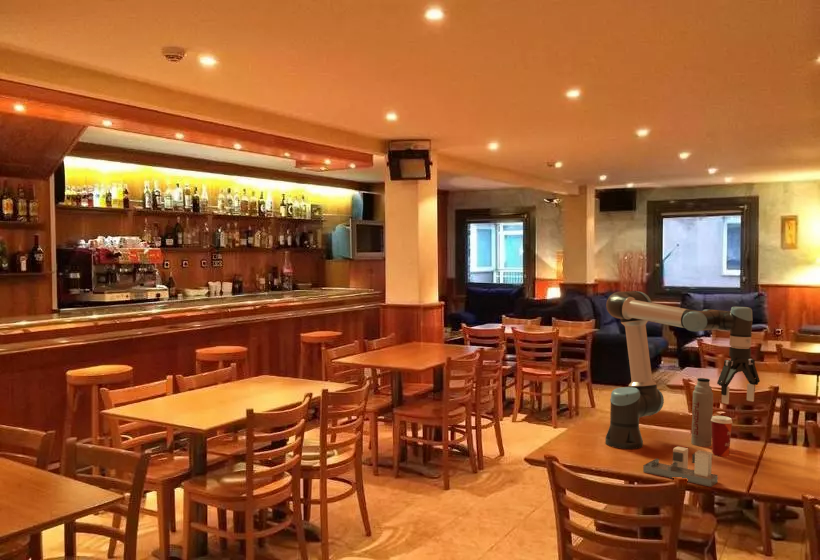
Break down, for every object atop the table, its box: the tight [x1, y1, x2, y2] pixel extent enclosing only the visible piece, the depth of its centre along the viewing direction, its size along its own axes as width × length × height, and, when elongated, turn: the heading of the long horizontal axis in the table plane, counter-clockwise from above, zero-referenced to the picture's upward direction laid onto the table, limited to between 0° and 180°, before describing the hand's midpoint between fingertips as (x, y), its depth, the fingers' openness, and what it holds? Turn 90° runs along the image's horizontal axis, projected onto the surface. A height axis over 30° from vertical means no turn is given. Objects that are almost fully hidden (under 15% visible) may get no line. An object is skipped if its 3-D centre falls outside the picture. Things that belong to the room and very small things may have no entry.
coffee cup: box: [711, 415, 734, 458], centre depth 281 cm, size 8×8×15 cm
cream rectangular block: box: [672, 446, 689, 469], centre depth 260 cm, size 6×4×8 cm
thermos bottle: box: [690, 377, 714, 448], centre depth 296 cm, size 8×8×28 cm
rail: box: [642, 449, 719, 488], centre depth 251 cm, size 24×7×10 cm, turn 50°
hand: (737, 402), depth 268 cm, fingers open, 13 cm apart
